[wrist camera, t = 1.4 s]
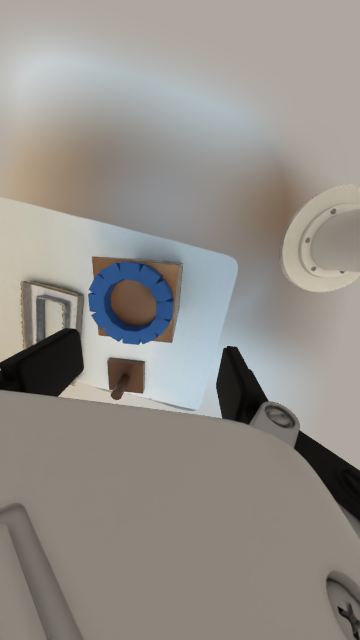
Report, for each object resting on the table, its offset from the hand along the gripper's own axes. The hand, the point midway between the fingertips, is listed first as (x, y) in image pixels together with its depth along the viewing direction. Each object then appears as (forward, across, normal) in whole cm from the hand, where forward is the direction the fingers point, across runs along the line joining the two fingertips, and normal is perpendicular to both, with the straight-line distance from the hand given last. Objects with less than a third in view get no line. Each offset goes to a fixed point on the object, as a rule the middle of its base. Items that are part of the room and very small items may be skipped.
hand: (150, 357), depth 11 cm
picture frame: (+26, +28, +14) cm, 41 cm away
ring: (+11, +4, 0) cm, 11 cm away
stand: (+27, +5, 0) cm, 27 cm away
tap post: (+26, +12, +24) cm, 37 cm away
